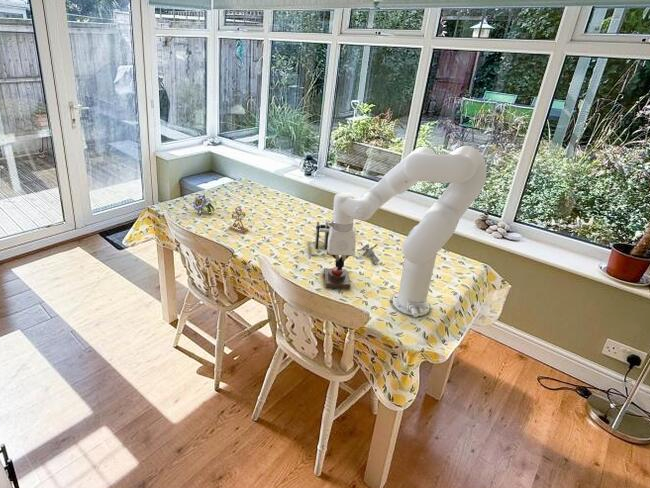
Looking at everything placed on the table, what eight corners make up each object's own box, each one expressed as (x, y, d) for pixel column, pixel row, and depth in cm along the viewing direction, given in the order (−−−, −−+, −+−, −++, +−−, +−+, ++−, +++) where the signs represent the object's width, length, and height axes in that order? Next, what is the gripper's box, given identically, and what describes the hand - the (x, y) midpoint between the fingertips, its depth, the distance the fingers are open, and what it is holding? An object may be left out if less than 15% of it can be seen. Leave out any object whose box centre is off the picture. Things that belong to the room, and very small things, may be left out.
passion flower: (198, 222, 222) (185, 204, 221) (210, 212, 230) (199, 194, 228) (209, 216, 214) (196, 197, 213) (222, 206, 221) (209, 188, 220)
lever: (331, 233, 170) (331, 228, 170) (319, 233, 170) (319, 227, 170) (327, 230, 182) (328, 224, 182) (316, 229, 182) (316, 224, 182)
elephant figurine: (365, 267, 172) (353, 251, 178) (369, 271, 176) (357, 256, 182) (385, 252, 171) (372, 237, 176) (388, 257, 175) (376, 242, 181)
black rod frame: (333, 256, 179) (336, 230, 174) (310, 255, 180) (312, 229, 175) (330, 243, 190) (332, 218, 185) (308, 242, 191) (310, 217, 186)
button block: (349, 289, 156) (350, 280, 155) (325, 288, 157) (326, 279, 156) (345, 273, 167) (346, 265, 165) (323, 272, 167) (324, 264, 166)
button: (342, 275, 159) (342, 271, 158) (332, 275, 159) (333, 271, 158) (341, 270, 162) (341, 266, 161) (331, 270, 162) (332, 266, 162)
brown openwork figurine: (229, 228, 204) (228, 206, 199) (233, 225, 207) (233, 203, 202) (243, 233, 199) (243, 210, 194) (248, 230, 202) (248, 208, 197)
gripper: (323, 229, 149) (320, 272, 156) (364, 230, 148) (360, 273, 155) (321, 220, 156) (319, 262, 163) (361, 221, 155) (357, 263, 162)
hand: (339, 268), depth 159 cm, fingers closed
